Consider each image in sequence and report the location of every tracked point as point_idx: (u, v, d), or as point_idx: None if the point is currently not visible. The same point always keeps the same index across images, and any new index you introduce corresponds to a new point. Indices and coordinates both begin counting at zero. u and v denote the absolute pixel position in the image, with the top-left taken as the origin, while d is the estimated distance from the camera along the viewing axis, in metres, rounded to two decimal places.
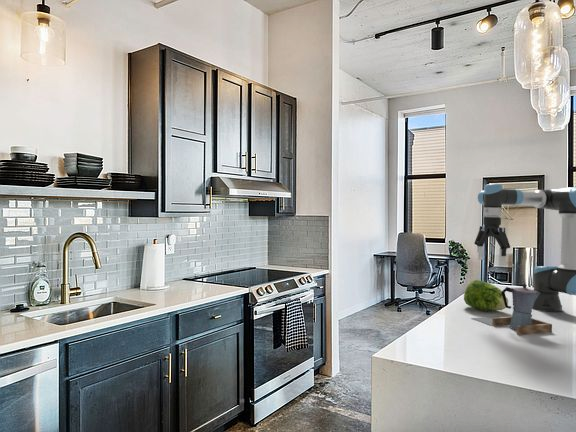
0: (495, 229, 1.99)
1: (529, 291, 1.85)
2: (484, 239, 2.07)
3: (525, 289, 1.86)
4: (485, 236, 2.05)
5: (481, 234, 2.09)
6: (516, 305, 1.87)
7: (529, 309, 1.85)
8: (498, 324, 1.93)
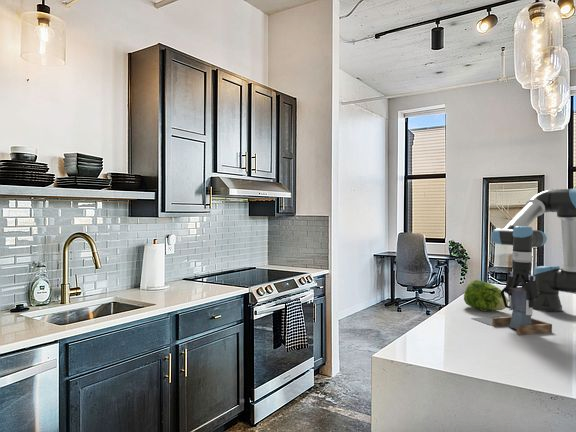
0: (525, 275, 1.85)
1: None
2: (515, 286, 1.91)
3: (524, 288, 1.87)
4: (515, 282, 1.90)
5: (510, 280, 1.94)
6: (516, 304, 1.87)
7: None
8: (498, 324, 1.93)
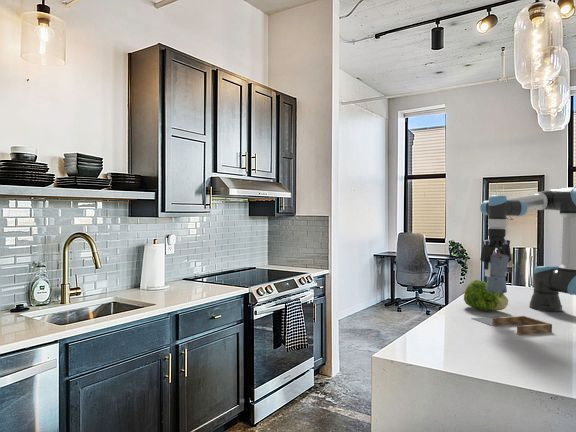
0: None
1: None
2: (501, 253, 2.02)
3: (493, 253, 2.01)
4: (499, 249, 2.03)
5: (505, 248, 2.03)
6: None
7: (490, 271, 1.99)
8: (498, 324, 1.93)
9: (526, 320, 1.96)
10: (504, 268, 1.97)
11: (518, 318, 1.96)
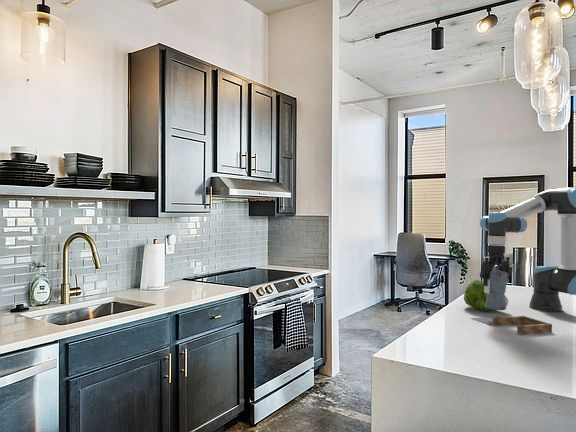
0: None
1: None
2: (500, 269, 2.02)
3: (493, 270, 2.01)
4: (498, 265, 2.03)
5: (505, 265, 2.03)
6: None
7: (490, 288, 2.00)
8: (498, 324, 1.93)
9: (526, 320, 1.96)
10: (503, 285, 1.97)
11: (518, 318, 1.96)
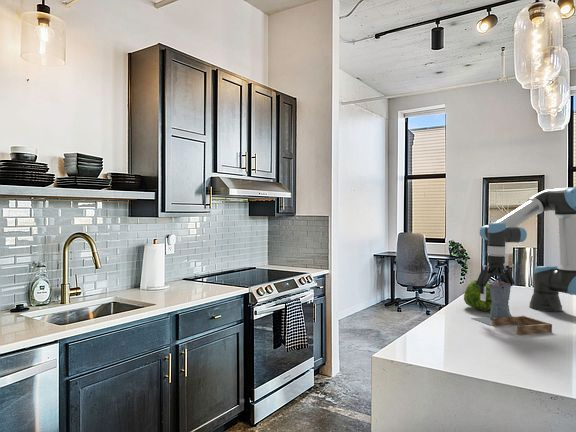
0: None
1: (493, 284, 2.01)
2: (502, 278, 2.03)
3: (495, 282, 2.01)
4: (499, 275, 2.03)
5: (506, 273, 2.03)
6: None
7: (494, 300, 2.01)
8: (498, 324, 1.93)
9: (526, 320, 1.96)
10: (507, 297, 1.98)
11: (518, 318, 1.96)
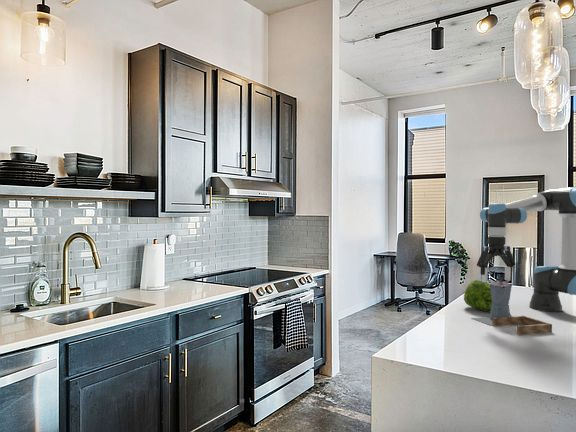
0: None
1: (494, 284, 2.01)
2: (503, 259, 2.03)
3: (496, 282, 2.02)
4: (500, 256, 2.03)
5: (507, 254, 2.03)
6: None
7: (494, 300, 2.01)
8: (498, 324, 1.93)
9: (526, 320, 1.96)
10: (507, 297, 1.98)
11: (518, 318, 1.96)
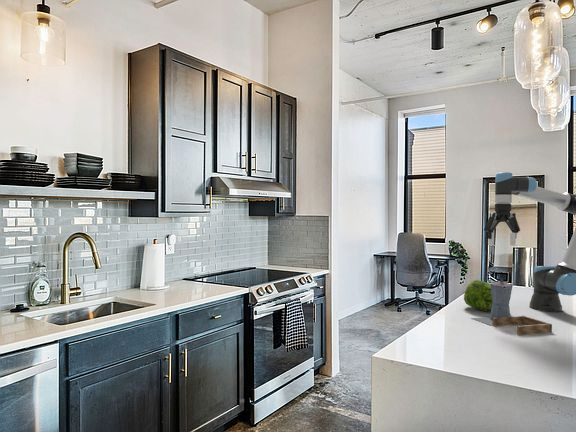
0: None
1: (494, 283, 2.01)
2: (509, 225, 2.16)
3: (497, 282, 2.02)
4: (506, 222, 2.16)
5: (512, 221, 2.17)
6: None
7: (494, 300, 2.01)
8: (498, 324, 1.93)
9: (526, 320, 1.96)
10: (508, 297, 1.98)
11: (518, 318, 1.96)
